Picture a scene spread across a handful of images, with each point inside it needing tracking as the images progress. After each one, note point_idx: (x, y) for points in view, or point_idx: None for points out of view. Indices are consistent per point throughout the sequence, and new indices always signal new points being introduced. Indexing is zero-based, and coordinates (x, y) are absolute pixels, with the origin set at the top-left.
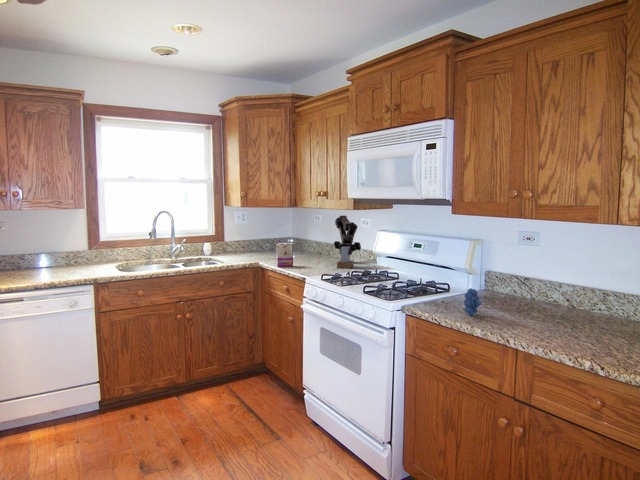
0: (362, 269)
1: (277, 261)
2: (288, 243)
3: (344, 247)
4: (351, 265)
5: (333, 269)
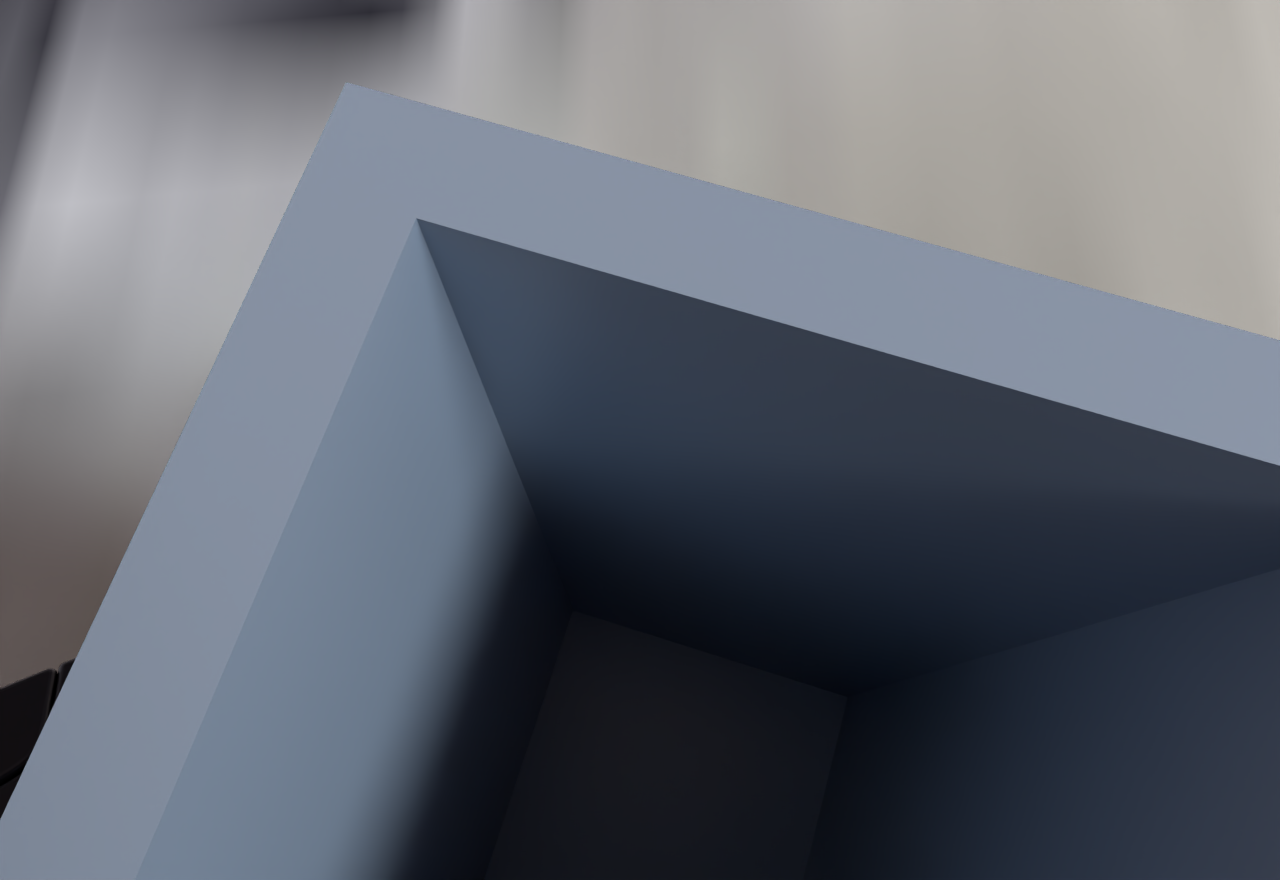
0: (25, 386)
1: None
2: None
3: (949, 279)
4: None
5: (1077, 283)
